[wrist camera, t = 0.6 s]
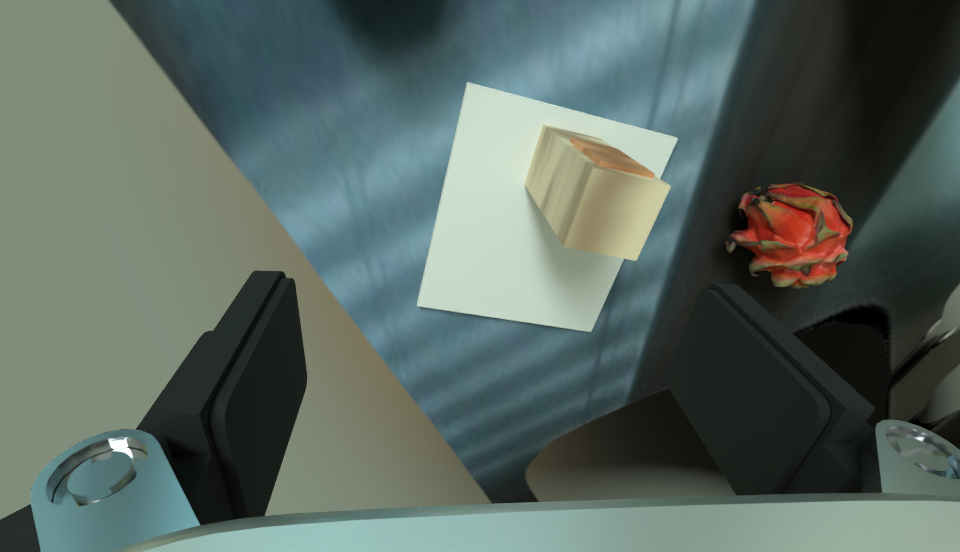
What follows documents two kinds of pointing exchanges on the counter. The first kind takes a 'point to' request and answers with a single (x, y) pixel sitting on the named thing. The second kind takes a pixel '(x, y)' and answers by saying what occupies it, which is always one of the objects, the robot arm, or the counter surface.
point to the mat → (518, 217)
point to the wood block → (594, 193)
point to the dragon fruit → (793, 234)
